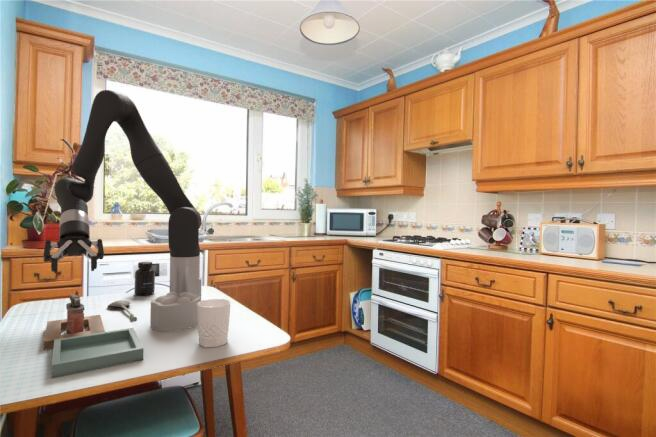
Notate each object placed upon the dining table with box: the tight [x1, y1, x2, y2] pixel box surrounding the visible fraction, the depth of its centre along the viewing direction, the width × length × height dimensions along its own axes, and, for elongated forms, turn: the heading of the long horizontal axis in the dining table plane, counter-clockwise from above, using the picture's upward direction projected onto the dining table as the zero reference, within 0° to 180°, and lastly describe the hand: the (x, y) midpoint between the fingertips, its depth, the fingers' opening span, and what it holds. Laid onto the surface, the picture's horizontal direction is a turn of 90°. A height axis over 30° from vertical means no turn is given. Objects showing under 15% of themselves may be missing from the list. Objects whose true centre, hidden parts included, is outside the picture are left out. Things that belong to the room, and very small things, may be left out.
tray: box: [51, 327, 145, 379], centre depth 81 cm, size 16×16×2 cm
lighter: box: [65, 293, 85, 334], centre depth 93 cm, size 8×3×10 cm, turn 47°
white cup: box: [197, 298, 231, 348], centre depth 90 cm, size 8×8×10 cm
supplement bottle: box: [133, 261, 156, 297], centre depth 137 cm, size 7×7×12 cm
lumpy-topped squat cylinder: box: [150, 291, 202, 334], centre depth 103 cm, size 10×13×9 cm
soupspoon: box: [107, 299, 138, 322], centre depth 114 cm, size 22×3×7 cm
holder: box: [43, 314, 106, 351], centre depth 93 cm, size 12×17×2 cm
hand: (74, 270), depth 102 cm, fingers open, 8 cm apart
